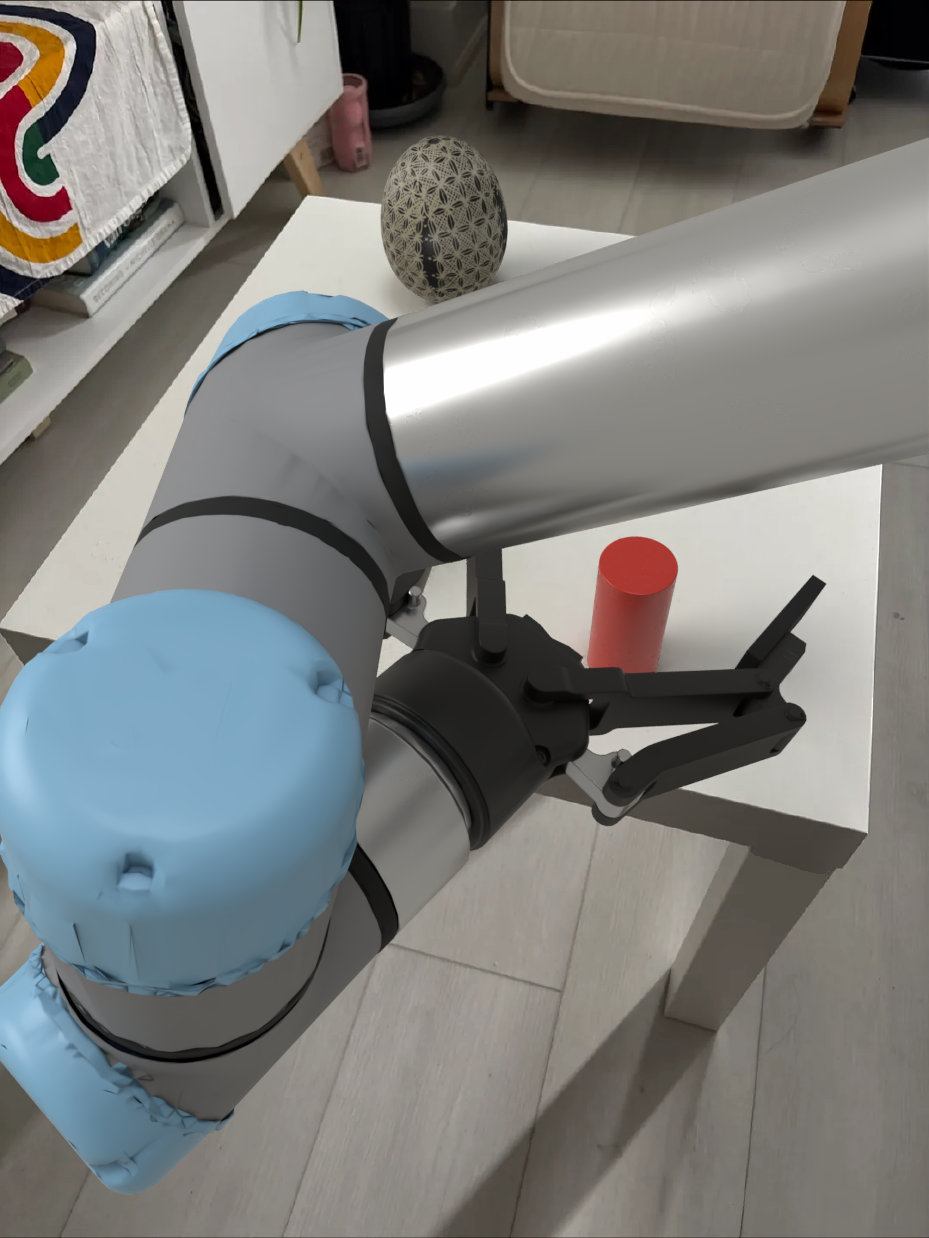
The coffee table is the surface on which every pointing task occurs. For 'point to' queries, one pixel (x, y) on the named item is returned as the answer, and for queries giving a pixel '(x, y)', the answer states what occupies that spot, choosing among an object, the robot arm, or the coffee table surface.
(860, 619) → the coffee table surface
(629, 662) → the cylinder
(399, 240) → the decorative egg
